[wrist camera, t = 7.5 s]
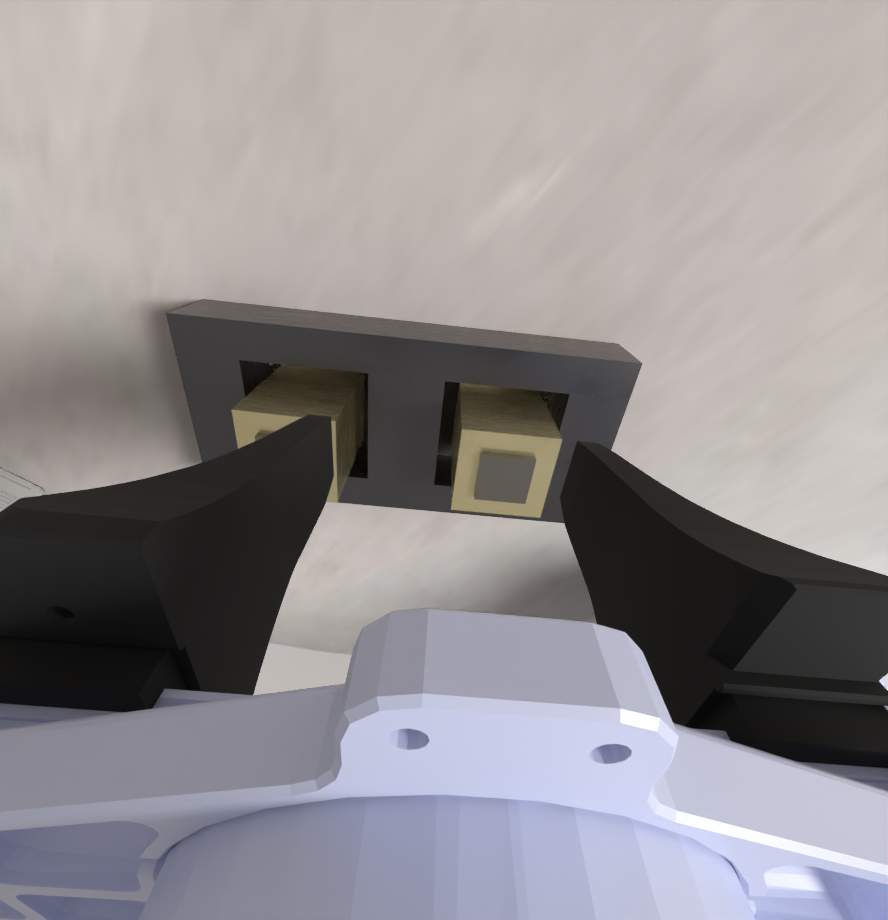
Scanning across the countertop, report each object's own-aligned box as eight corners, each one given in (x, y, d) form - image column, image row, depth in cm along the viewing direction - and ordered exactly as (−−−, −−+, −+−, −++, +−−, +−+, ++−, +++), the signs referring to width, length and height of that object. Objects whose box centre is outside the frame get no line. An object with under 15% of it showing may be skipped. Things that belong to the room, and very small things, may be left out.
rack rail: (618, 343, 20) (642, 363, 18) (570, 492, 25) (584, 524, 22) (204, 299, 19) (165, 312, 17) (235, 460, 24) (209, 490, 22)
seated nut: (536, 384, 21) (564, 442, 16) (521, 450, 23) (541, 522, 18) (460, 376, 21) (462, 432, 16) (451, 443, 23) (450, 513, 18)
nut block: (364, 370, 21) (333, 424, 16) (363, 438, 23) (335, 506, 18) (285, 360, 21) (227, 412, 16) (292, 430, 23) (242, 497, 18)
